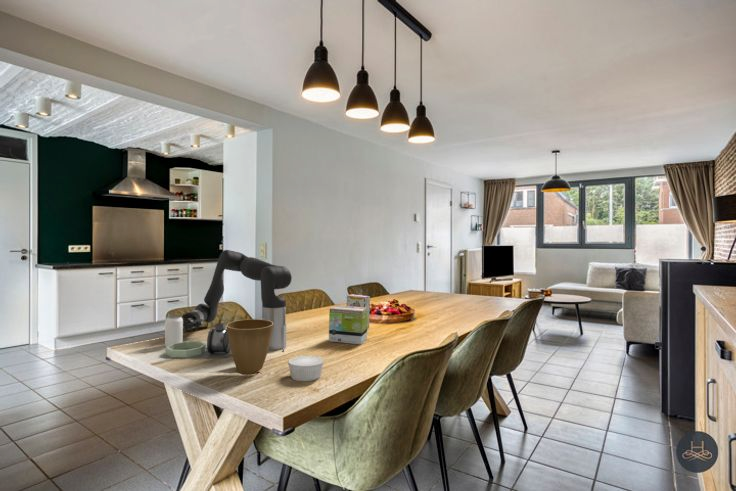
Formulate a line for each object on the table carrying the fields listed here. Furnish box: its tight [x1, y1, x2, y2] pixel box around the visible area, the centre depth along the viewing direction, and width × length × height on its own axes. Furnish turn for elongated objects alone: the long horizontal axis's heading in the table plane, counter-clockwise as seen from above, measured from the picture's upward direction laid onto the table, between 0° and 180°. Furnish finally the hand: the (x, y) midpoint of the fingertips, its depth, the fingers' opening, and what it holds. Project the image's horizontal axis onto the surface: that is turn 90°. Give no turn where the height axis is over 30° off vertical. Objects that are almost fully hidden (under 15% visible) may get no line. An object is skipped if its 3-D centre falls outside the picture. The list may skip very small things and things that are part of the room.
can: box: [164, 314, 184, 348], centre depth 161 cm, size 6×6×12 cm
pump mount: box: [158, 340, 232, 359], centre depth 149 cm, size 24×14×4 cm, turn 93°
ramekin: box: [287, 355, 324, 382], centre depth 128 cm, size 11×11×5 cm
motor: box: [206, 322, 231, 353], centre depth 150 cm, size 7×9×11 cm
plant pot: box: [226, 318, 273, 376], centre depth 132 cm, size 15×15×16 cm
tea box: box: [328, 304, 368, 346], centre depth 174 cm, size 15×10×15 cm, turn 76°
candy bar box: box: [346, 293, 371, 330], centre depth 201 cm, size 11×5×16 cm, turn 58°
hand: (177, 326), depth 164 cm, fingers open, 8 cm apart
